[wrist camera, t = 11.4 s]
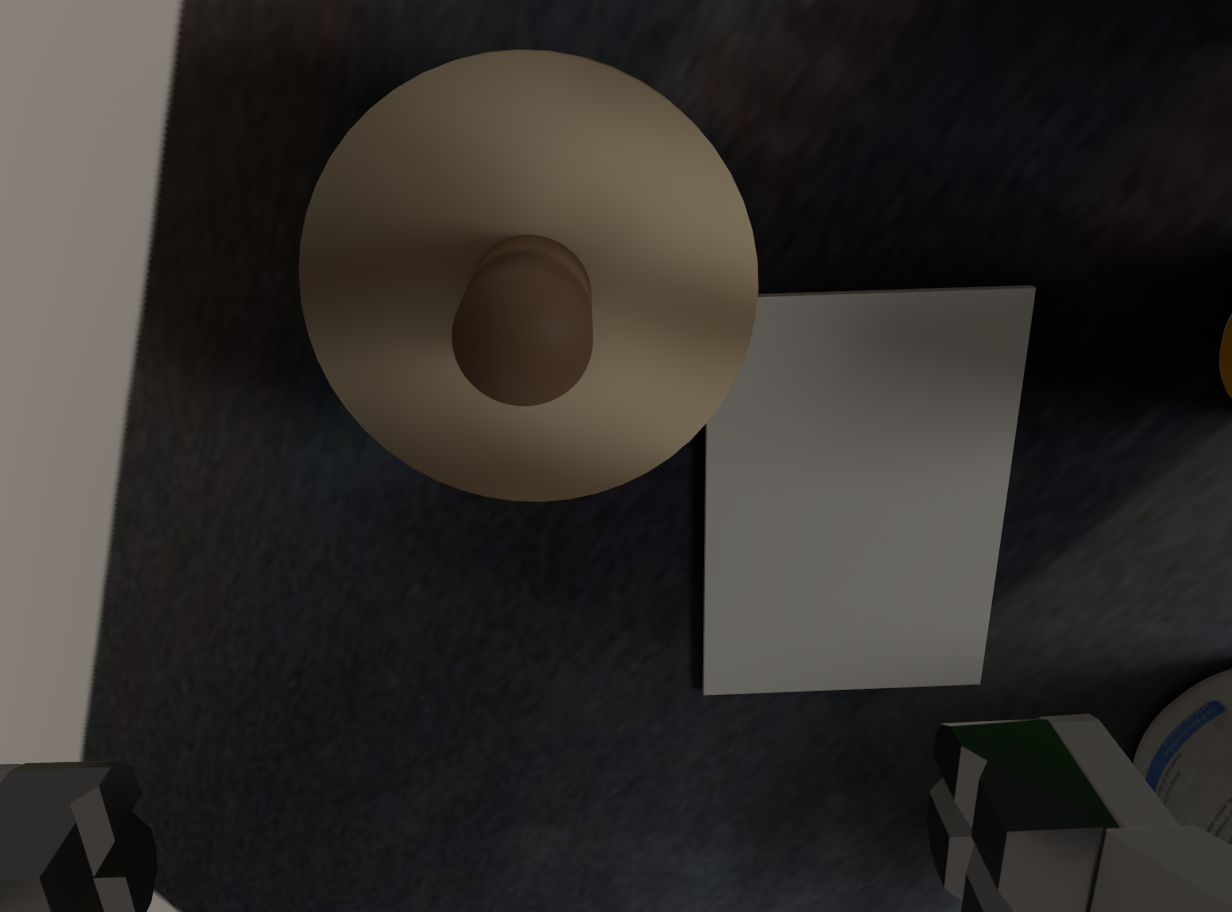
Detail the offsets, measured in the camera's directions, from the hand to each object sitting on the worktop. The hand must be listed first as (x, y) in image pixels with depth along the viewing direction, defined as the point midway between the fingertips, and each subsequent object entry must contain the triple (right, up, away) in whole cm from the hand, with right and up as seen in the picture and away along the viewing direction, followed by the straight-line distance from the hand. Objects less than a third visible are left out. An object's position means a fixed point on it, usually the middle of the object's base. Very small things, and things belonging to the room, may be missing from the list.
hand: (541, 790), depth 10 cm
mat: (+10, +2, +27) cm, 29 cm away
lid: (-1, +8, +17) cm, 19 cm away
